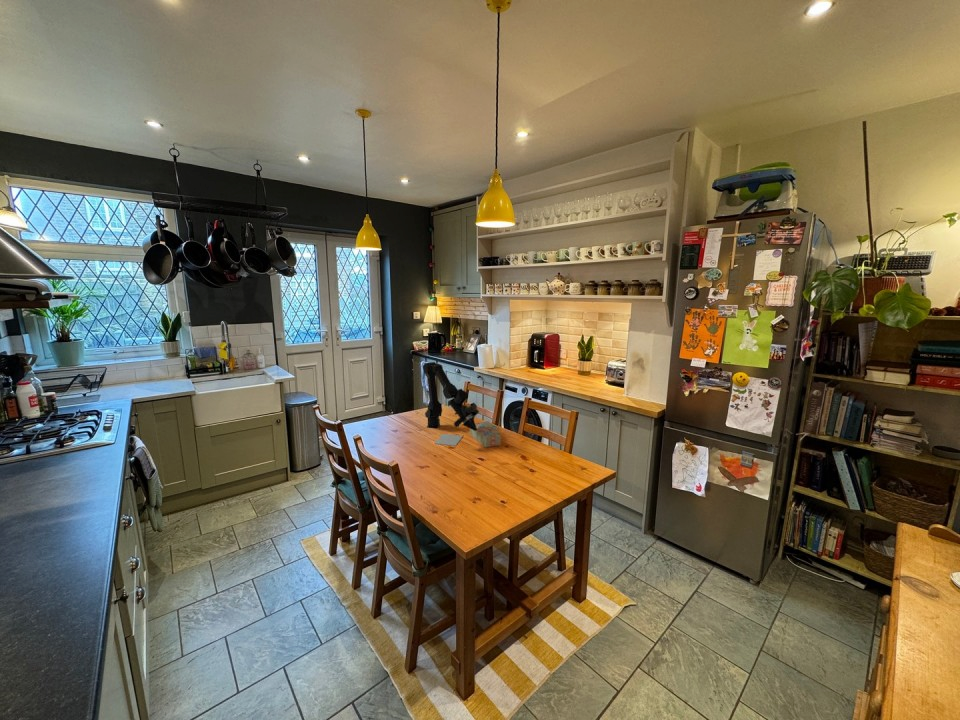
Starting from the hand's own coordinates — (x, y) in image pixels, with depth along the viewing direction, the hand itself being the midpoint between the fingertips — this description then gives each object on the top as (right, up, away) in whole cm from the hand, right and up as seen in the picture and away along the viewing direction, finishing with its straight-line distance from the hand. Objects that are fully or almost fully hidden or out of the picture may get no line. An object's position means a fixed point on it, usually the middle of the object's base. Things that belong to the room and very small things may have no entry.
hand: (476, 430), depth 209 cm
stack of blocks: (0, -4, +5) cm, 6 cm away
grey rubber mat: (-15, -6, +6) cm, 18 cm away
